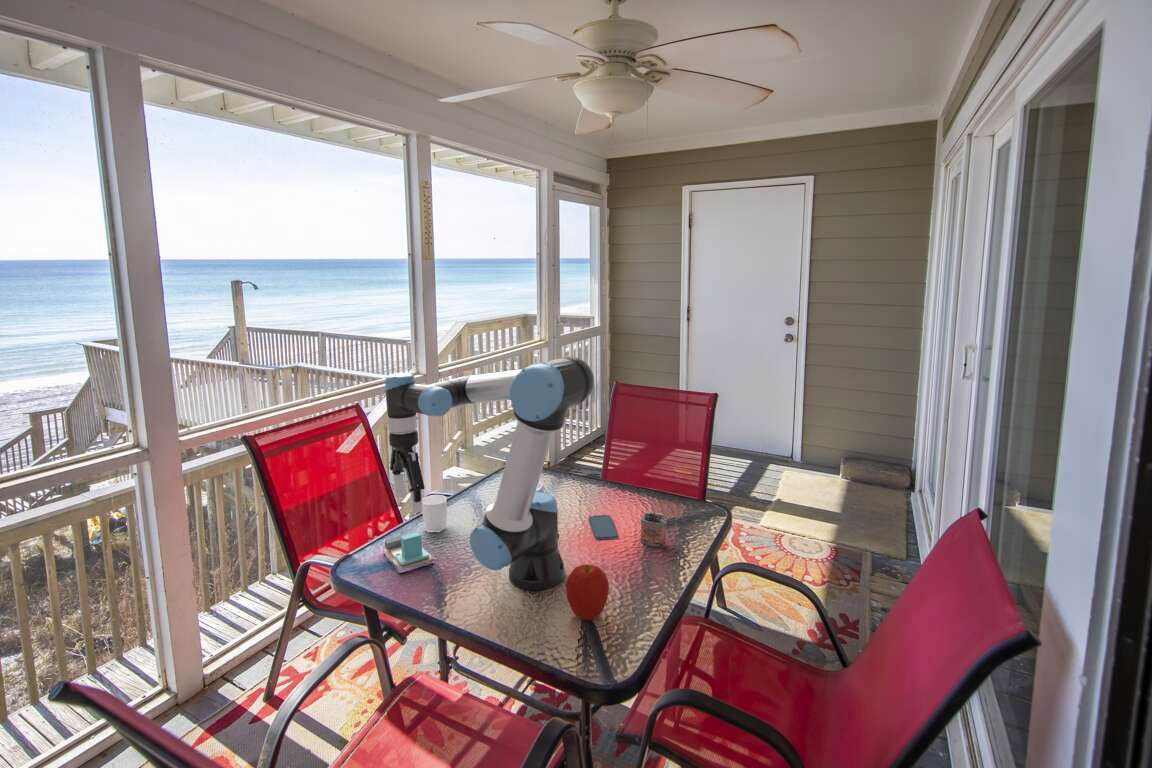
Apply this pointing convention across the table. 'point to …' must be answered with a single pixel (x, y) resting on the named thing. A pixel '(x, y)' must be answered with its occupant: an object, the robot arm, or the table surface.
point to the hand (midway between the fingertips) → (408, 504)
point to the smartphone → (603, 527)
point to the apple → (587, 591)
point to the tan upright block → (653, 529)
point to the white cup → (434, 512)
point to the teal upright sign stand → (411, 549)
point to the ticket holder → (395, 549)
